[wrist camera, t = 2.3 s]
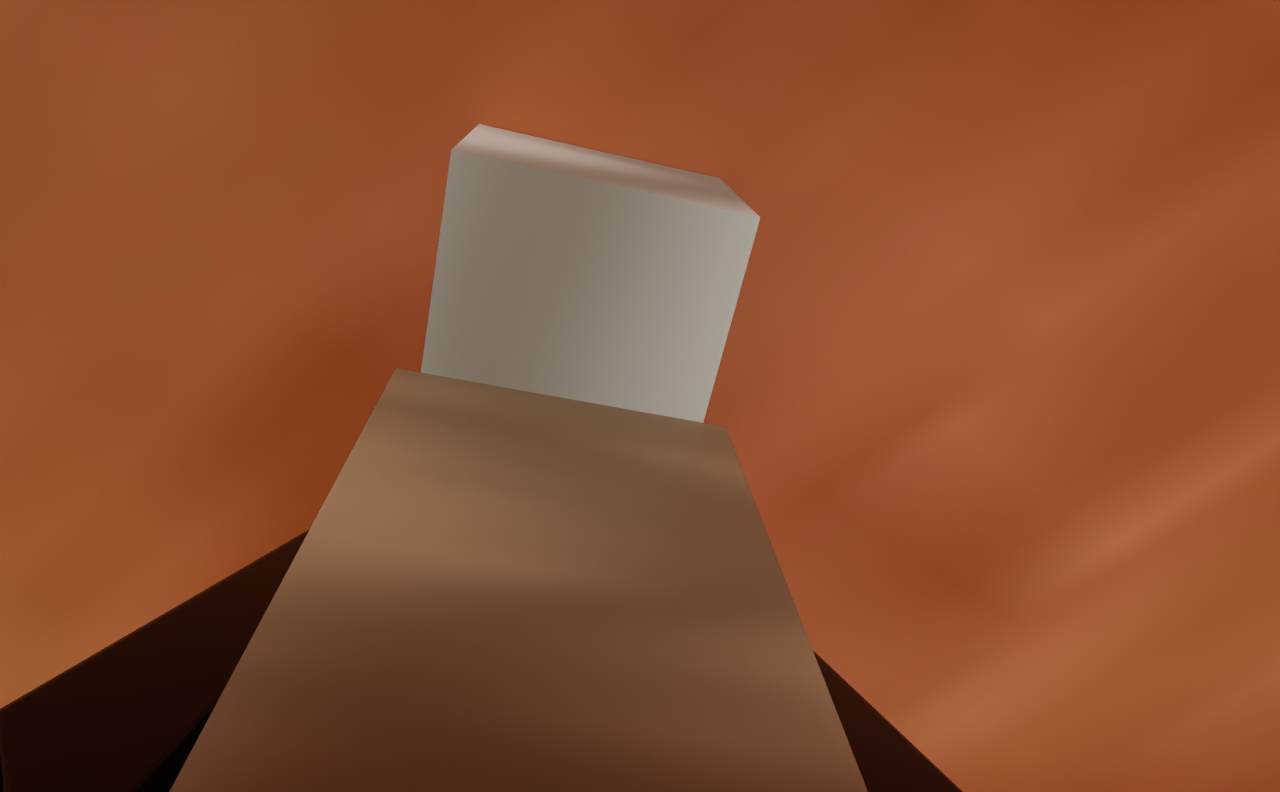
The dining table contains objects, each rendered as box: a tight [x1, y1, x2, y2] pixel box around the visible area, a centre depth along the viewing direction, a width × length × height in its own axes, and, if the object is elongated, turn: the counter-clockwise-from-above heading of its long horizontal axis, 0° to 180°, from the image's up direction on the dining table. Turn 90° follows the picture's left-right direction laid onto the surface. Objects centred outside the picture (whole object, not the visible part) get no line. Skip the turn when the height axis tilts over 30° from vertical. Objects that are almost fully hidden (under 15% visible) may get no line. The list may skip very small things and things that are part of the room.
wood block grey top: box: [170, 124, 868, 792], centre depth 8 cm, size 4×8×9 cm, turn 167°
